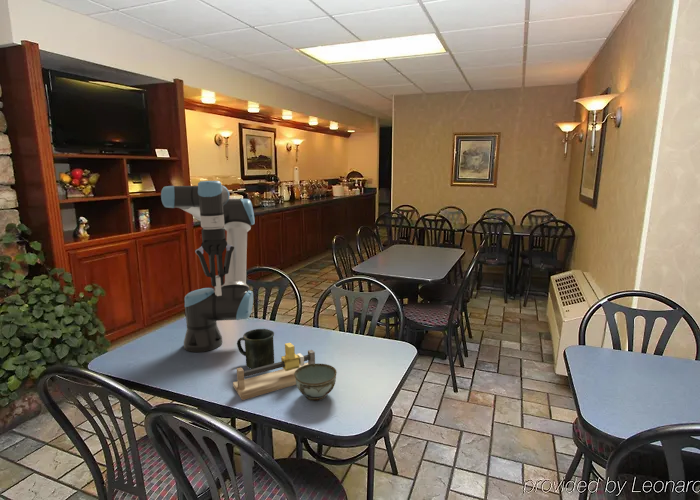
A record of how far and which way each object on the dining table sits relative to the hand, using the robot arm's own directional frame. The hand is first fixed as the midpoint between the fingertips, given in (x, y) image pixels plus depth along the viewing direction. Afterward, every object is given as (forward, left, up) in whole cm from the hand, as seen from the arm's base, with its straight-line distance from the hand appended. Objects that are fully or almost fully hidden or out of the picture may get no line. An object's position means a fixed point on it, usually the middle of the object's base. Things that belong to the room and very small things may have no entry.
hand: (218, 294), depth 146 cm
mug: (0, +12, -29) cm, 31 cm away
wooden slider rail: (+17, +14, -29) cm, 36 cm away
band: (+17, +22, -25) cm, 37 cm away
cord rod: (+17, +14, -24) cm, 32 cm away
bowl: (+32, +21, -29) cm, 48 cm away
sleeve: (+17, +19, -25) cm, 35 cm away
